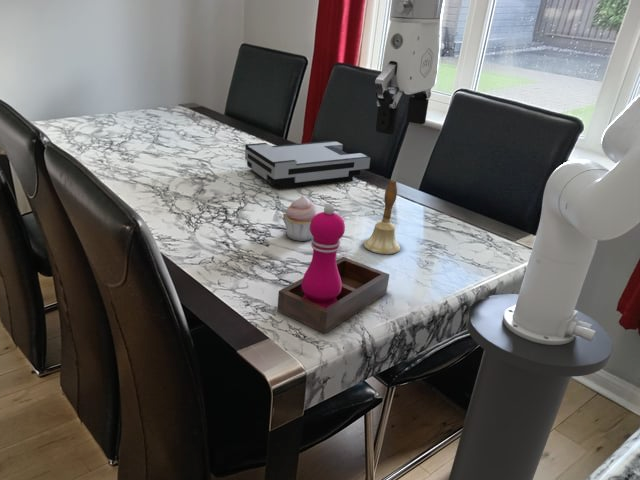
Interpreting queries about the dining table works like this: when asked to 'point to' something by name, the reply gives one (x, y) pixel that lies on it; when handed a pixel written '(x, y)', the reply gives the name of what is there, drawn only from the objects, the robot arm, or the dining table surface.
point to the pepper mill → (324, 259)
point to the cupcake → (299, 219)
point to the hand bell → (385, 227)
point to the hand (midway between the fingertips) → (400, 127)
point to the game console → (304, 163)
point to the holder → (356, 294)
